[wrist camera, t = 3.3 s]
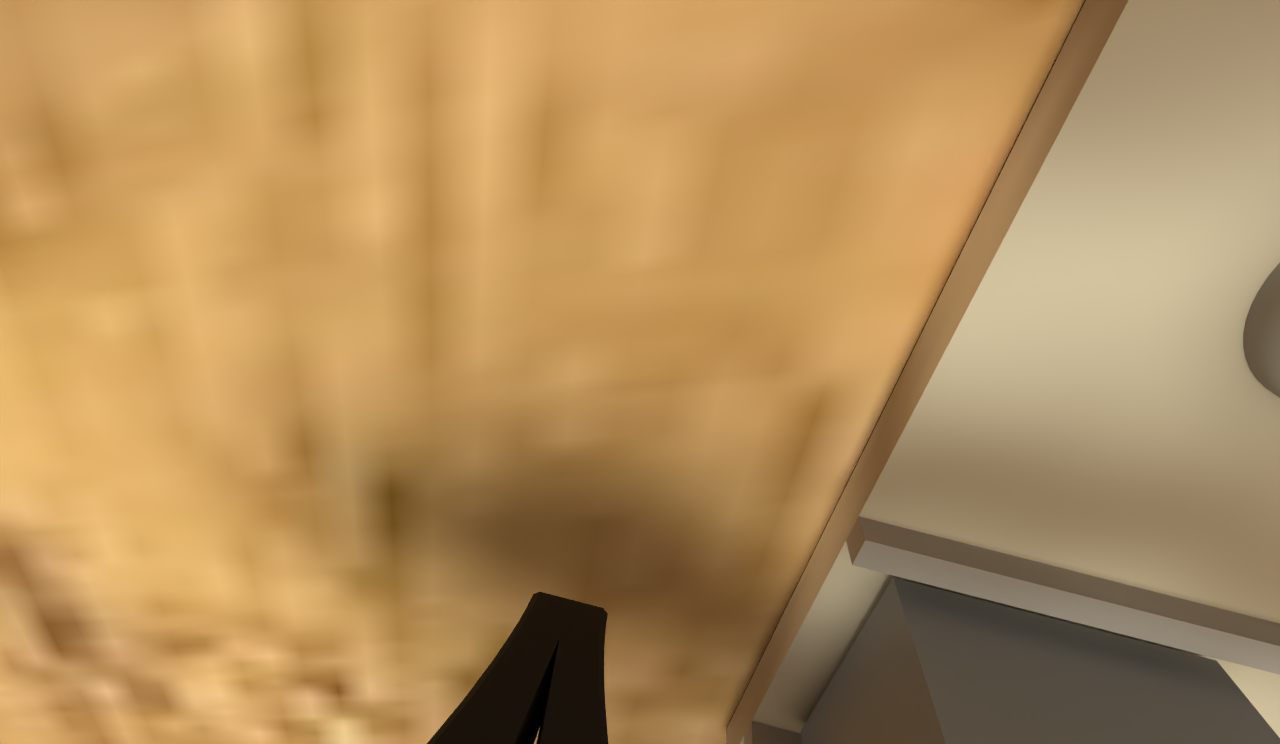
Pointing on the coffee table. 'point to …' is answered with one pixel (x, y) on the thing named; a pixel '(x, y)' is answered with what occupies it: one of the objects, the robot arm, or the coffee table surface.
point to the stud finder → (1019, 682)
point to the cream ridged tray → (1086, 376)
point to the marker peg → (1265, 334)
